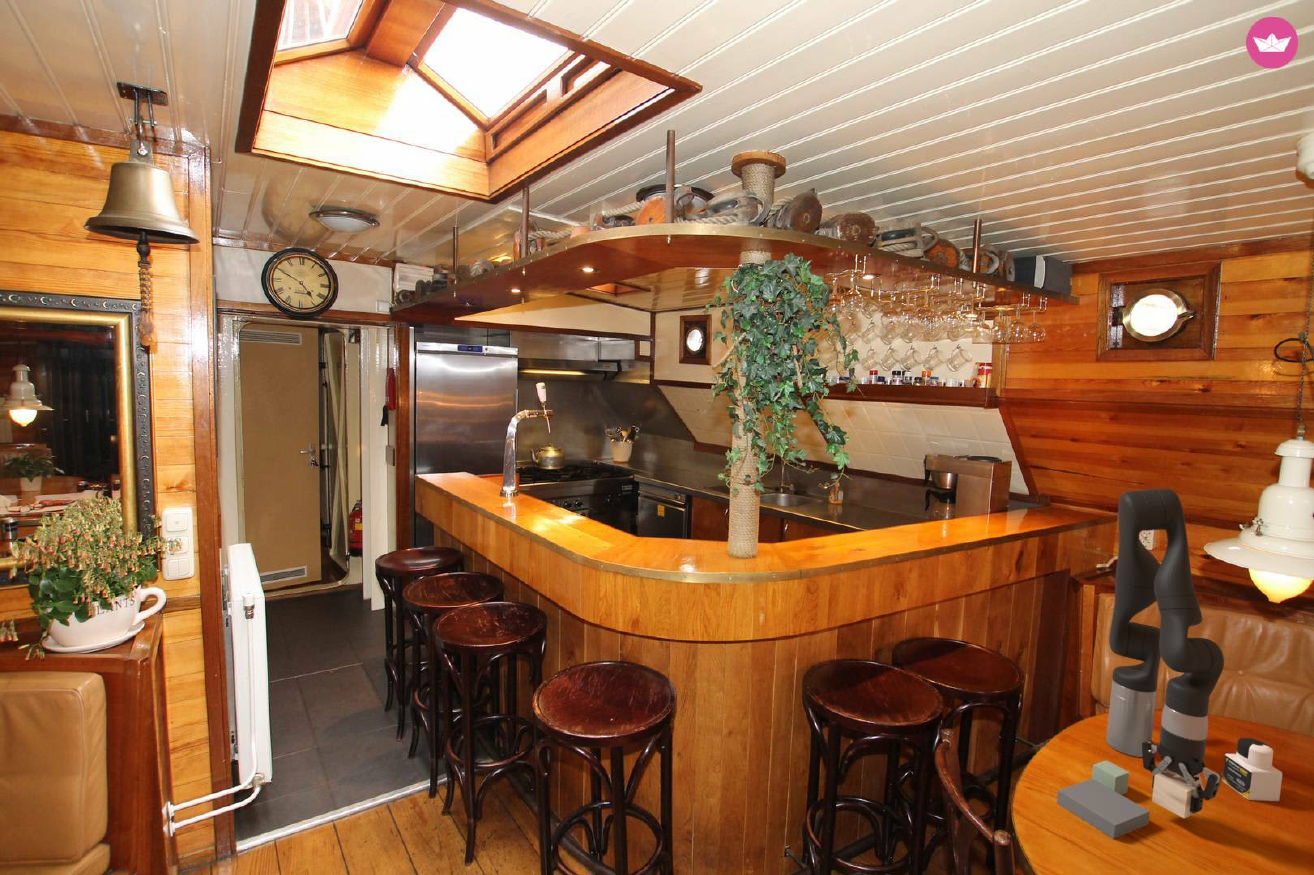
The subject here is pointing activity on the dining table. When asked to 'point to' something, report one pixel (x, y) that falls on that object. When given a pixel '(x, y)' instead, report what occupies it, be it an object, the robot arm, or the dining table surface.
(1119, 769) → the sage block
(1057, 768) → the dining table surface
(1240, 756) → the medicine bottle
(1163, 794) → the birch block
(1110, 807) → the slate plinth
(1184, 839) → the dining table surface
